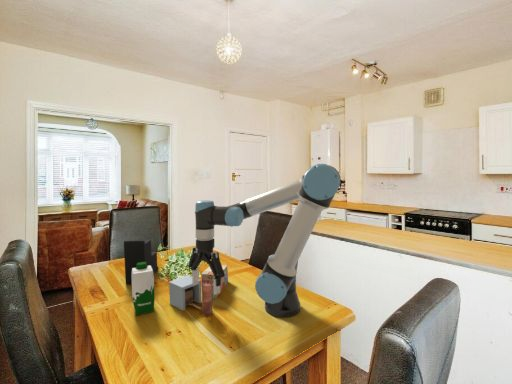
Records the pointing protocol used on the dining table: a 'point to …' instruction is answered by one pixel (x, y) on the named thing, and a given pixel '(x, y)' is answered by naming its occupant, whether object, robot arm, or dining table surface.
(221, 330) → the dining table surface
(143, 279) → the milk carton
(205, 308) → the tethered block
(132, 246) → the bookend
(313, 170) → the robot arm
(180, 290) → the box
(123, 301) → the dining table surface
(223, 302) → the dining table surface
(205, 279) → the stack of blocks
